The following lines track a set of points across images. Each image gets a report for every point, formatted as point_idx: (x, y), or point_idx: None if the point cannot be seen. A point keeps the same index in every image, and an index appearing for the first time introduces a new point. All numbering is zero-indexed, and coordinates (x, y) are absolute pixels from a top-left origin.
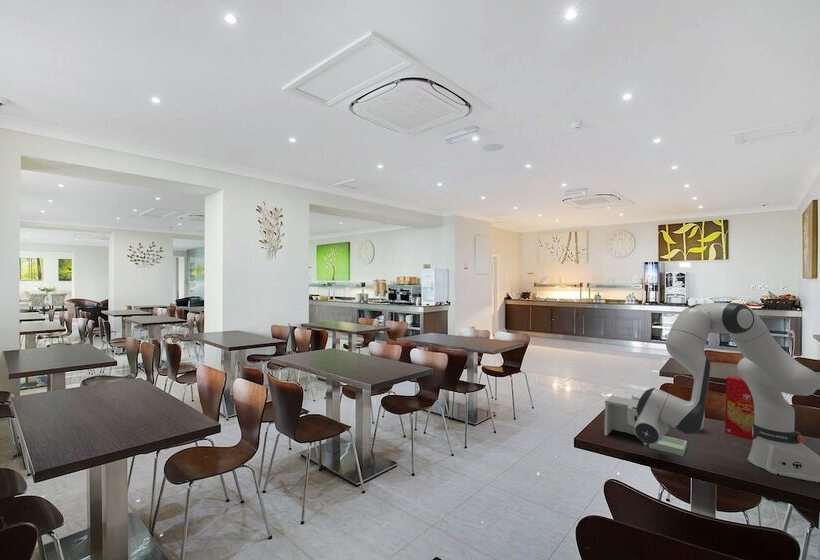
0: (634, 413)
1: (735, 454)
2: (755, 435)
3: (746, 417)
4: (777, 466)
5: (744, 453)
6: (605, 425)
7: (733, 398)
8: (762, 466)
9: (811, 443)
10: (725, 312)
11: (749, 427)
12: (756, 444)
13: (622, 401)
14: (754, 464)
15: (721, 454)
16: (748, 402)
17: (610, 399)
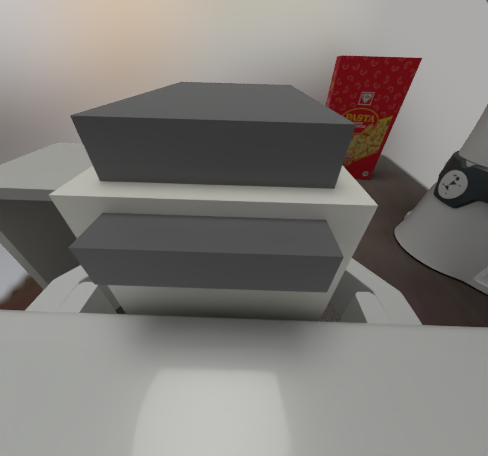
0: None
1: (370, 235)
2: (472, 200)
3: (352, 141)
4: None
5: (375, 223)
6: (36, 278)
7: (341, 106)
8: (459, 275)
9: (393, 162)
10: None
11: (350, 158)
12: (459, 222)
13: (67, 167)
14: (433, 268)
15: (355, 250)
16: (365, 110)
17: (10, 167)
